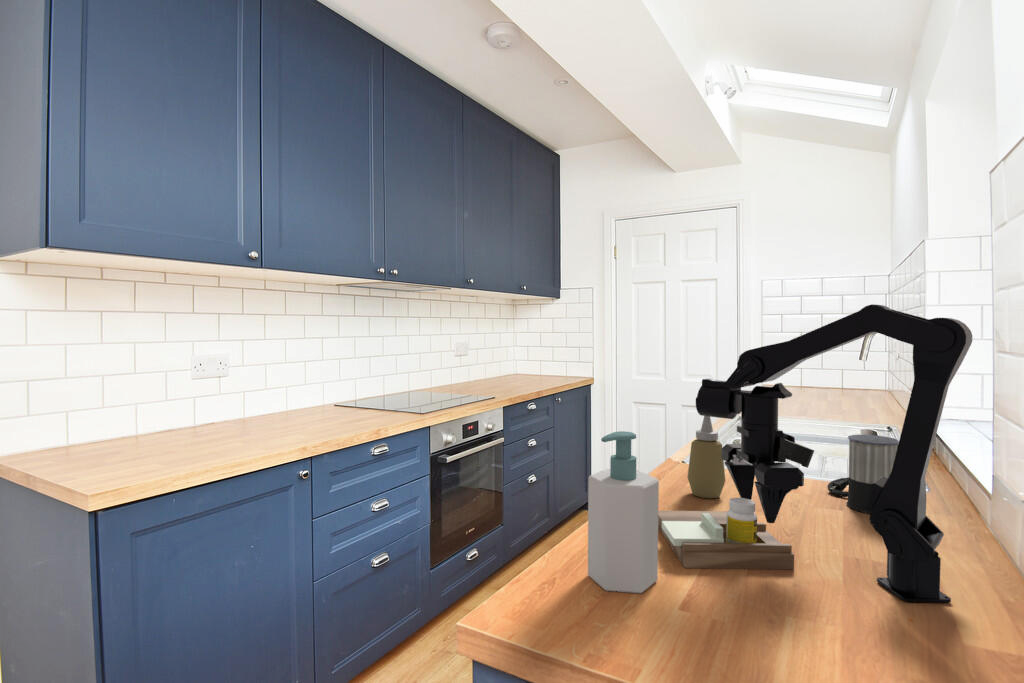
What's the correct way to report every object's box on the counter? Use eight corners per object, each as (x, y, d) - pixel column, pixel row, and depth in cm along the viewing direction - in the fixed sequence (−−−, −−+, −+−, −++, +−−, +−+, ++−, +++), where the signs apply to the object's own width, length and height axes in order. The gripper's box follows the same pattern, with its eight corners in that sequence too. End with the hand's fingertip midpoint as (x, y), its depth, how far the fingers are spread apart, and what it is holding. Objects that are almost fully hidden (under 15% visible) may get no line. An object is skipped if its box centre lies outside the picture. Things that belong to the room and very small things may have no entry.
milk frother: (886, 519, 111) (888, 445, 110) (806, 499, 124) (807, 432, 123) (915, 506, 119) (917, 436, 119) (837, 488, 132) (838, 425, 131)
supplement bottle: (759, 557, 91) (760, 507, 91) (728, 555, 92) (730, 504, 92) (752, 546, 96) (753, 497, 95) (723, 543, 97) (724, 495, 96)
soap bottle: (579, 569, 88) (580, 429, 87) (629, 560, 91) (631, 425, 90) (613, 599, 78) (615, 442, 77) (668, 588, 81) (670, 437, 81)
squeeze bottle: (733, 498, 124) (734, 417, 123) (703, 502, 121) (705, 419, 120) (707, 488, 131) (709, 411, 131) (679, 492, 128) (680, 413, 128)
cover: (723, 546, 90) (724, 529, 90) (673, 545, 90) (673, 528, 90) (707, 528, 98) (707, 512, 98) (661, 527, 98) (661, 511, 98)
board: (793, 569, 88) (794, 548, 88) (684, 568, 88) (685, 546, 88) (744, 523, 108) (744, 506, 108) (655, 522, 108) (655, 505, 108)
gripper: (838, 432, 86) (837, 533, 86) (780, 413, 105) (779, 496, 105) (766, 433, 86) (765, 533, 86) (720, 413, 105) (719, 496, 105)
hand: (758, 513), depth 96 cm, fingers open, 9 cm apart
